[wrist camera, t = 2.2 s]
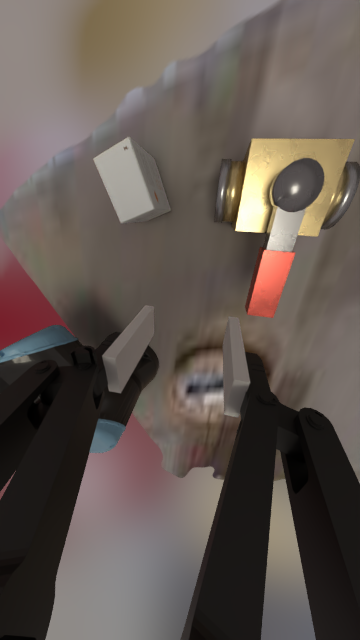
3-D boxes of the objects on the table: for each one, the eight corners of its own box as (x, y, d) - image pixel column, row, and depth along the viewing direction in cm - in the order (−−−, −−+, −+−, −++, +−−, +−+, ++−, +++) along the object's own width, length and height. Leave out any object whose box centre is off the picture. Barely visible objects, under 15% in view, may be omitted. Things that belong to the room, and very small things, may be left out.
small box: (126, 173, 32) (90, 156, 23) (155, 158, 31) (128, 133, 22) (145, 222, 36) (119, 224, 26) (172, 211, 34) (154, 209, 25)
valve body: (220, 226, 33) (219, 230, 24) (229, 161, 29) (233, 134, 19) (303, 232, 32) (340, 238, 22) (327, 163, 27) (386, 134, 17)
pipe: (215, 221, 33) (213, 222, 26) (222, 166, 29) (222, 151, 22) (313, 228, 30) (339, 231, 24) (335, 169, 27) (372, 153, 20)
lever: (275, 163, 20) (282, 156, 18) (320, 164, 19) (334, 157, 17) (241, 306, 28) (243, 313, 26) (272, 309, 27) (276, 318, 25)
